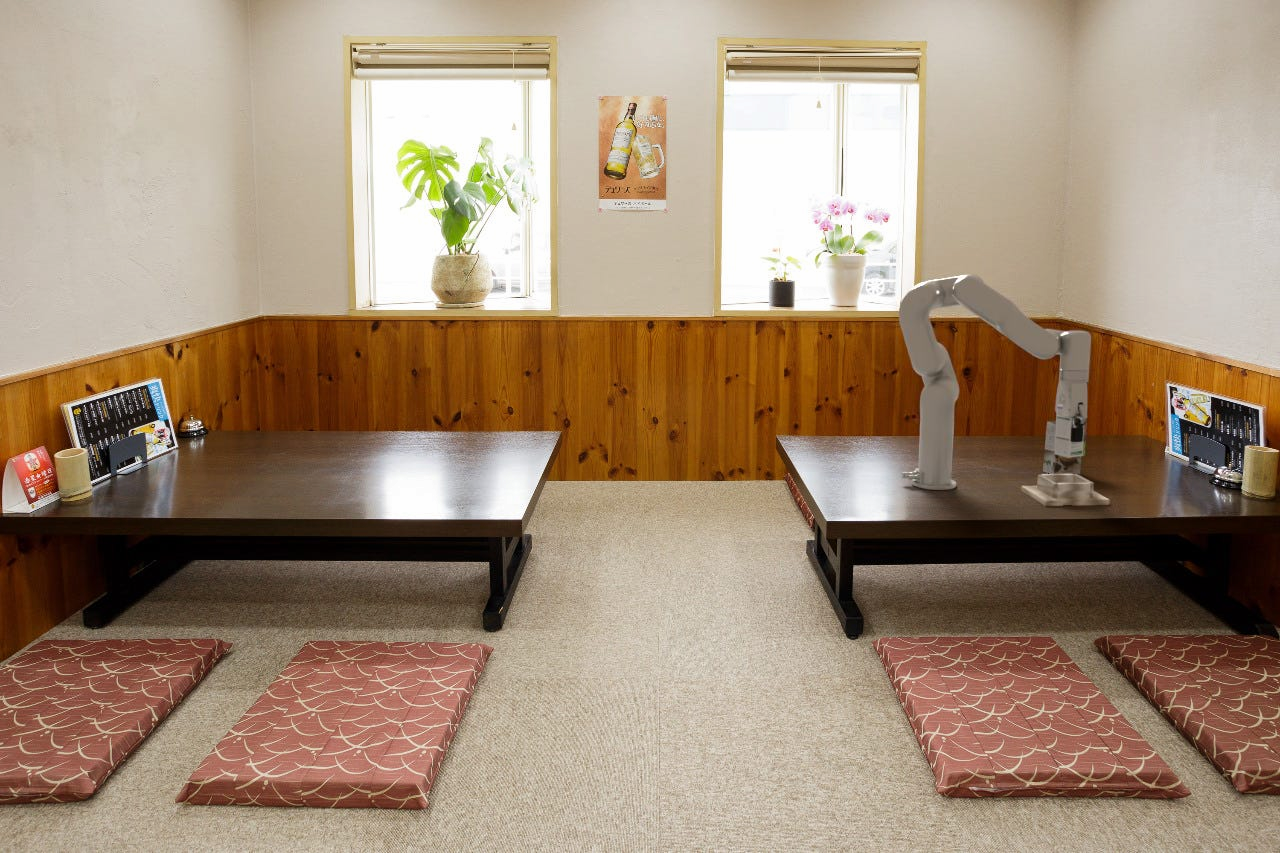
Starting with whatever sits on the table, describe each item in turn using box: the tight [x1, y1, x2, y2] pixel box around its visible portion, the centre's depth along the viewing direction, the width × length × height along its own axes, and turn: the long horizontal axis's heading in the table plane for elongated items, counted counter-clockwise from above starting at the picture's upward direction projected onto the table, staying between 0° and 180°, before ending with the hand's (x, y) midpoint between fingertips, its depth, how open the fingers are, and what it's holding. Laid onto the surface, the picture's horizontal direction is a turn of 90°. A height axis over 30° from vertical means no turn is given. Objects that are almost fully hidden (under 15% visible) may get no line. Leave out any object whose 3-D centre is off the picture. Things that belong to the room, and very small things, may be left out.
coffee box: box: [1042, 420, 1082, 475], centre depth 318 cm, size 9×6×16 cm
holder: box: [1020, 473, 1110, 507], centre depth 291 cm, size 18×16×6 cm
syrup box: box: [1055, 404, 1088, 458], centre depth 287 cm, size 6×6×14 cm
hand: (1070, 438), depth 288 cm, fingers closed on syrup box, 7 cm apart
